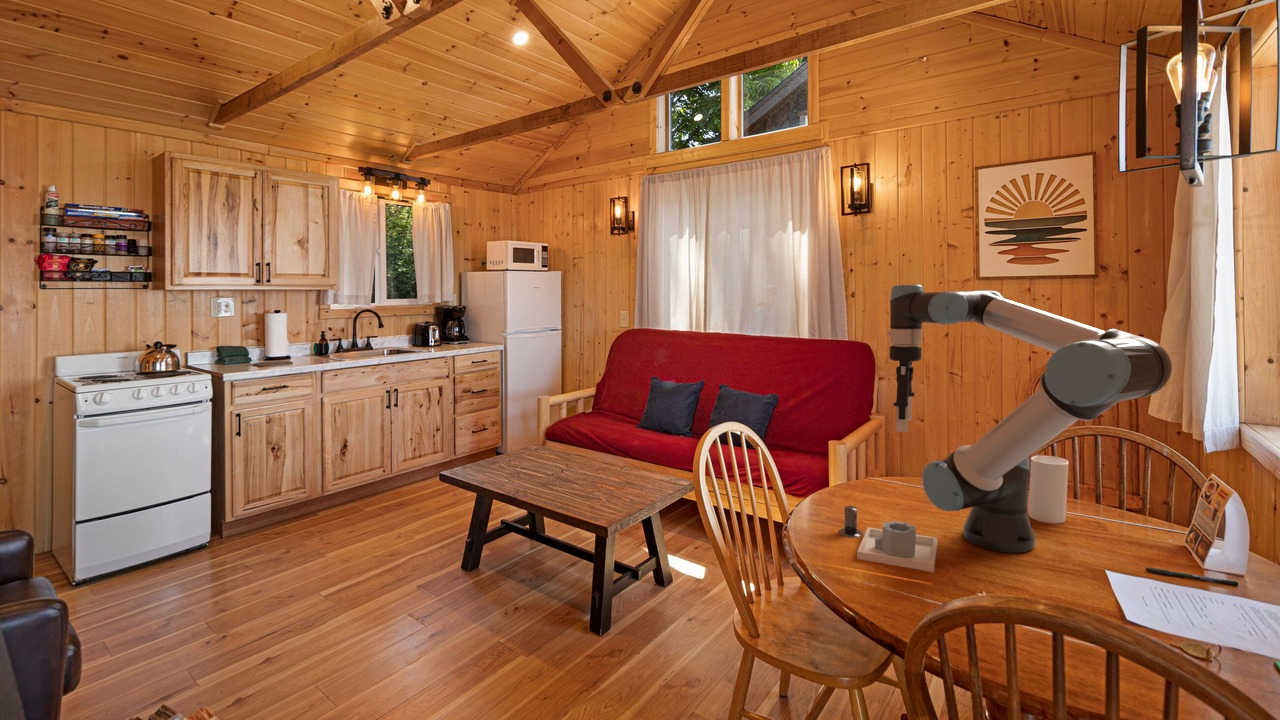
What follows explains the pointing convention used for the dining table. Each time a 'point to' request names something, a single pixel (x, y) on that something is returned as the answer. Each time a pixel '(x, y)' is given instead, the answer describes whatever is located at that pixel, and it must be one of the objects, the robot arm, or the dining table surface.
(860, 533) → the post
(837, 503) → the dining table surface
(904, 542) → the grey socket block
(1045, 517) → the cup
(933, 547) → the tray
